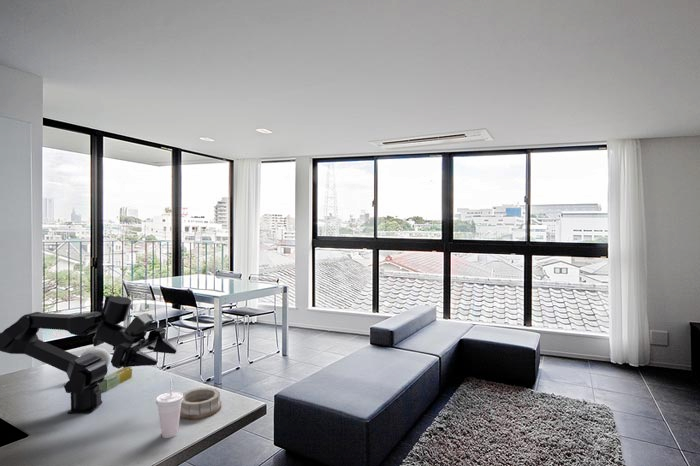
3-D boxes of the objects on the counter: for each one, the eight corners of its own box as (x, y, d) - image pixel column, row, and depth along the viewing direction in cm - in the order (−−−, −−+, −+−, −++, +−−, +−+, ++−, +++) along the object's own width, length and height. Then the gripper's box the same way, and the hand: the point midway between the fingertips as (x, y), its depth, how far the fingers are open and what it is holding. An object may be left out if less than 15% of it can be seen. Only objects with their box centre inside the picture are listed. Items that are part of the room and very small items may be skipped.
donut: (79, 381, 134) (78, 352, 134) (75, 379, 136) (75, 350, 136) (111, 373, 142) (111, 345, 141) (108, 370, 144) (107, 343, 144)
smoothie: (188, 432, 103) (188, 378, 102) (165, 443, 97) (165, 387, 97) (173, 425, 106) (173, 373, 106) (150, 436, 101) (150, 381, 100)
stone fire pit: (171, 420, 108) (170, 406, 108) (184, 400, 120) (184, 387, 120) (216, 418, 110) (216, 404, 110) (225, 398, 122) (224, 386, 122)
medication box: (105, 392, 126) (105, 380, 126) (98, 392, 127) (98, 379, 126) (132, 378, 138) (132, 366, 138) (125, 377, 138) (125, 366, 138)
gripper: (102, 318, 103) (155, 341, 102) (147, 303, 122) (193, 322, 120) (89, 357, 104) (141, 380, 102) (136, 336, 123) (181, 356, 121)
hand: (166, 357), depth 111 cm, fingers open, 9 cm apart
